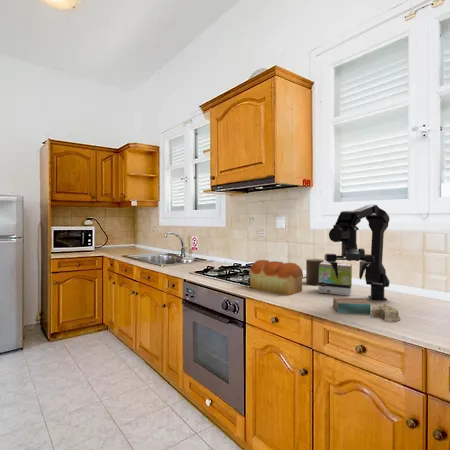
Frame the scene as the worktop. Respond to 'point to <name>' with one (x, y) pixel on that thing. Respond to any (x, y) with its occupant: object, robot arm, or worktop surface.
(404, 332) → the worktop surface
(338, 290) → the tea box
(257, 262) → the bread
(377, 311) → the cake
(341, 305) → the slab
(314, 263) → the pillar candle
